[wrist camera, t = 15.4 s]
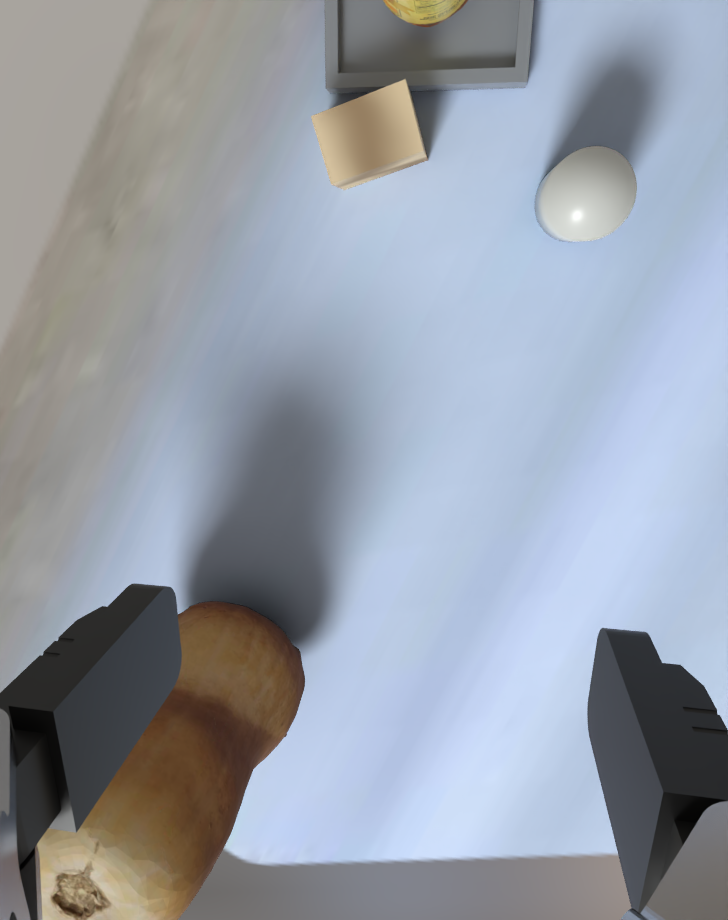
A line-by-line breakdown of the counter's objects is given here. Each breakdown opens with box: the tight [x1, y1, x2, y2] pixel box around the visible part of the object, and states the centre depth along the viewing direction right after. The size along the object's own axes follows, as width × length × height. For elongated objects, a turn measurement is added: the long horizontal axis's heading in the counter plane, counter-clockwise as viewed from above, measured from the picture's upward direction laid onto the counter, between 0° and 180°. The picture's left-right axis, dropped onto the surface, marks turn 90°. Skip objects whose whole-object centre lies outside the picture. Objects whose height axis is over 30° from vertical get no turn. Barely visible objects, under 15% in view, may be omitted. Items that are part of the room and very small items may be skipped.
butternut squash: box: [37, 601, 305, 920], centre depth 45 cm, size 14×13×25 cm
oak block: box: [311, 79, 428, 190], centre depth 40 cm, size 6×4×4 cm, turn 108°
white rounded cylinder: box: [535, 146, 637, 242], centre depth 38 cm, size 5×5×6 cm
